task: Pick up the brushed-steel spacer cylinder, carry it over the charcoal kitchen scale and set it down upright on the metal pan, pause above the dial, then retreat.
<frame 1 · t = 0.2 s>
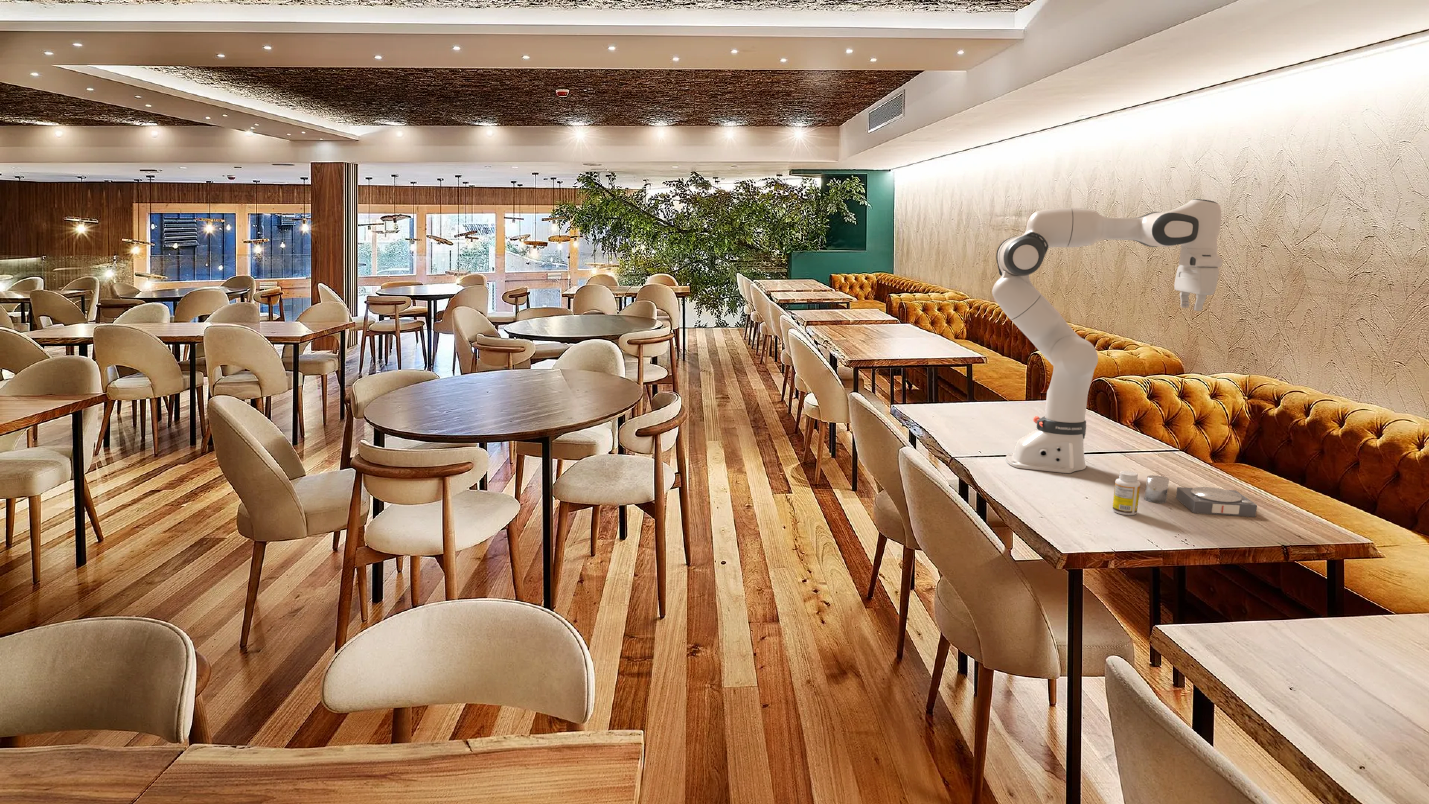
hand: (1190, 309, 228), 48 cm above the table, fingers open, 8 cm apart
scale pan: (1216, 494, 206), point 3 cm above the table, slide at -0.3 cm, touching scale base
spacer: (1155, 500, 212), on the table
scale base: (1214, 507, 207), on the table
supplement bottle: (1124, 513, 202), on the table
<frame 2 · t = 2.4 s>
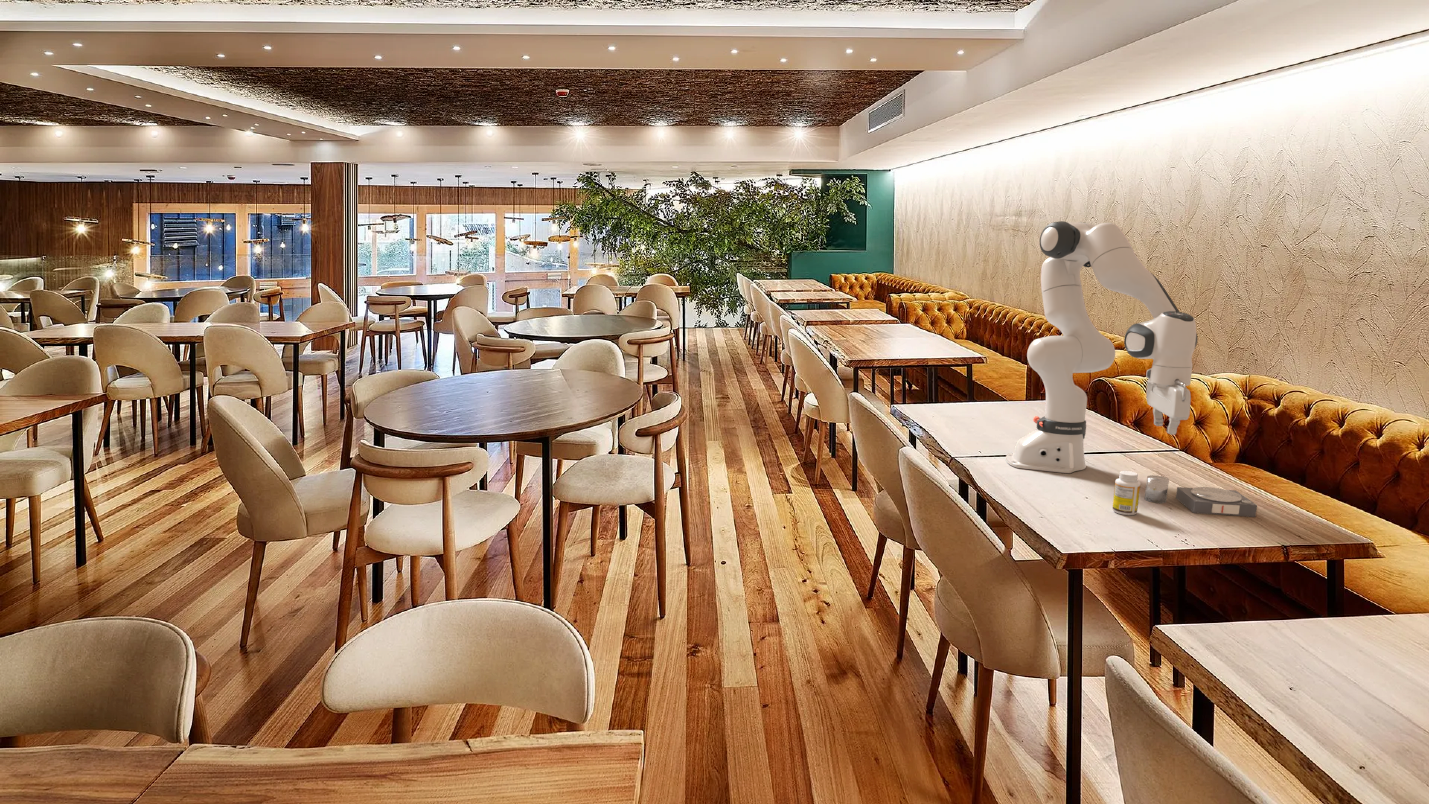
hand: (1164, 429, 208), 19 cm above the table, fingers open, 8 cm apart
nothing on the table moved.
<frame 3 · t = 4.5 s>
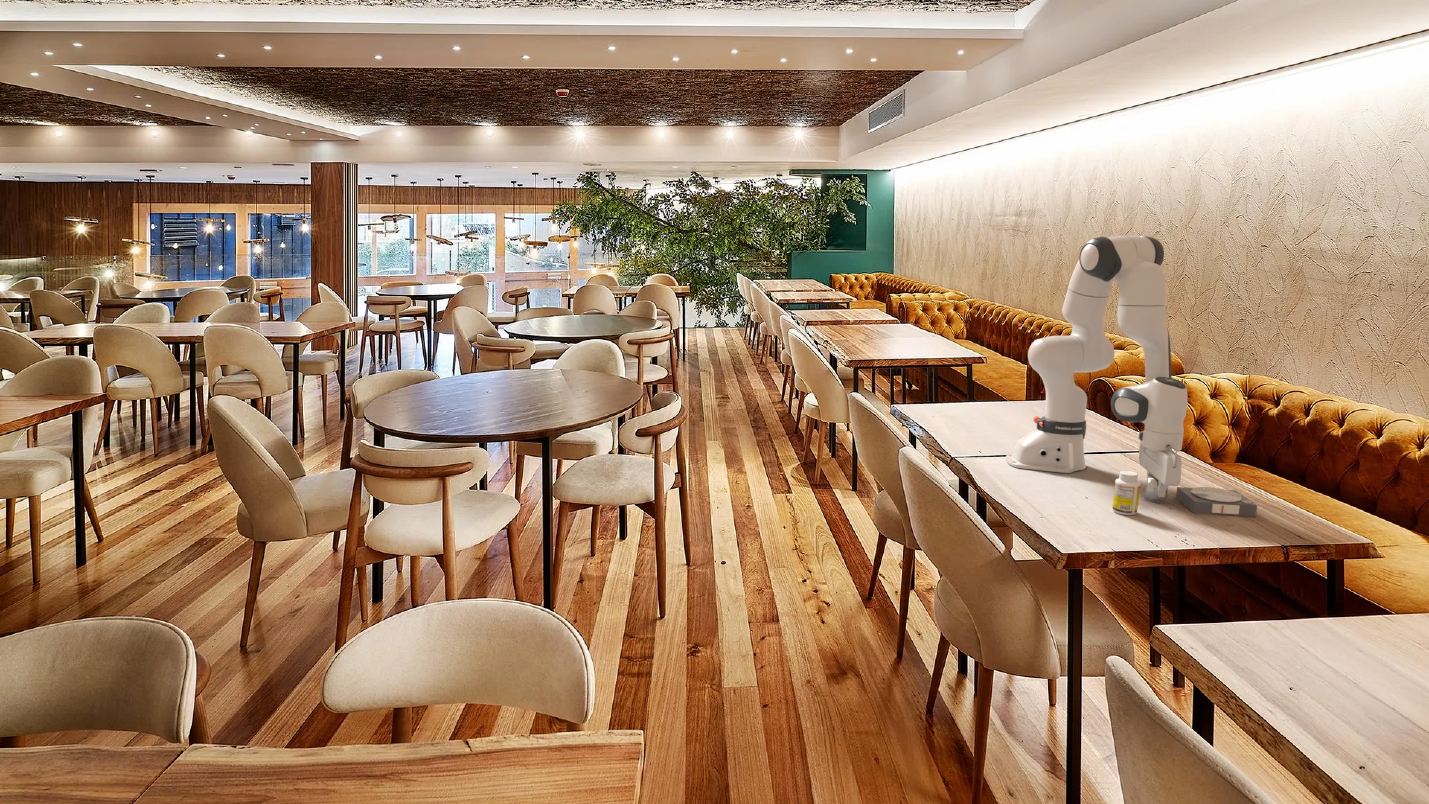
hand: (1156, 492, 211), 2 cm above the table, fingers closed on spacer, 5 cm apart
spacer: (1155, 500, 212), on the table, touching gripper
everything else where it was.
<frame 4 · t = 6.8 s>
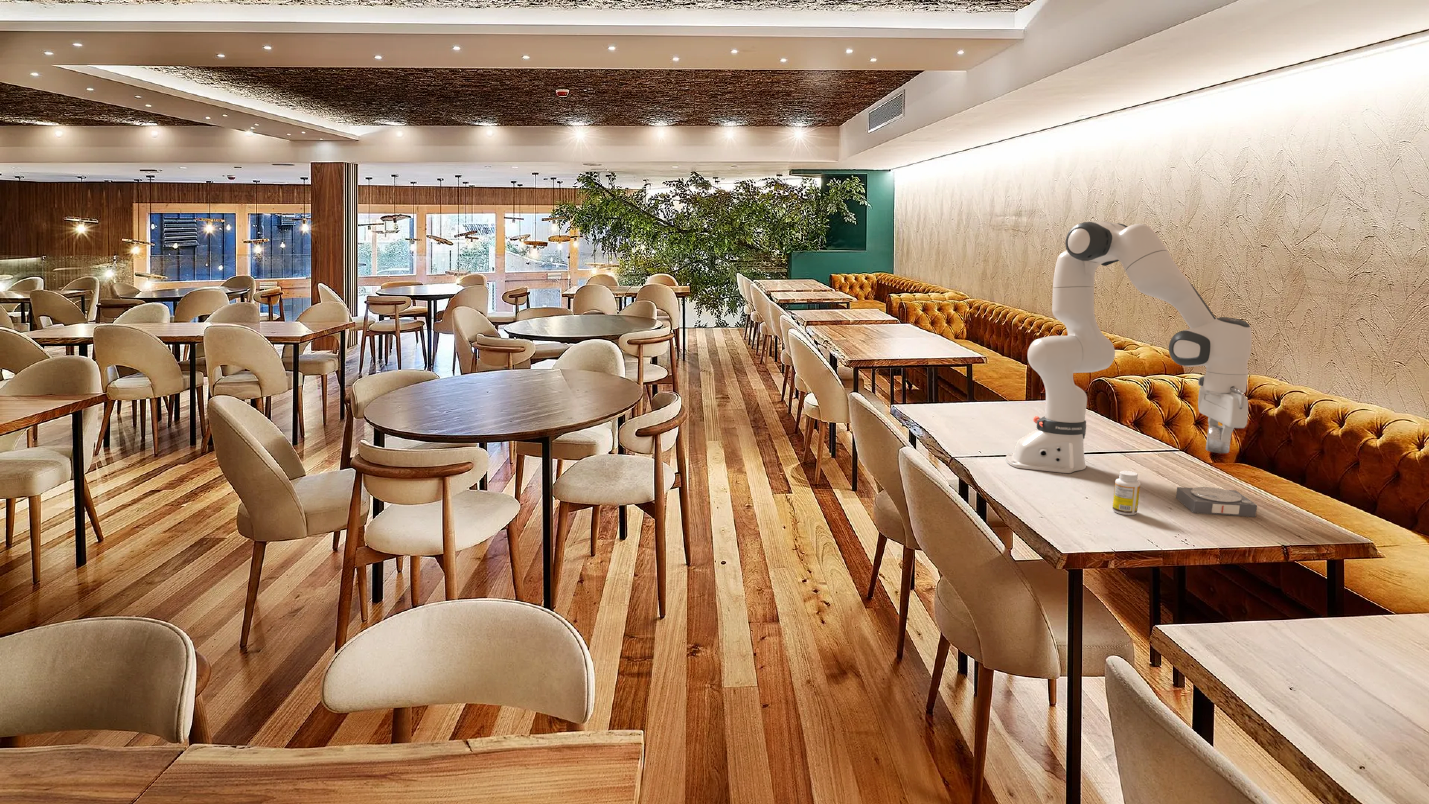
hand: (1218, 438, 203), 18 cm above the table, fingers closed on spacer, 5 cm apart
spacer: (1217, 450, 203), point 15 cm above the table, touching gripper
everything else where it was.
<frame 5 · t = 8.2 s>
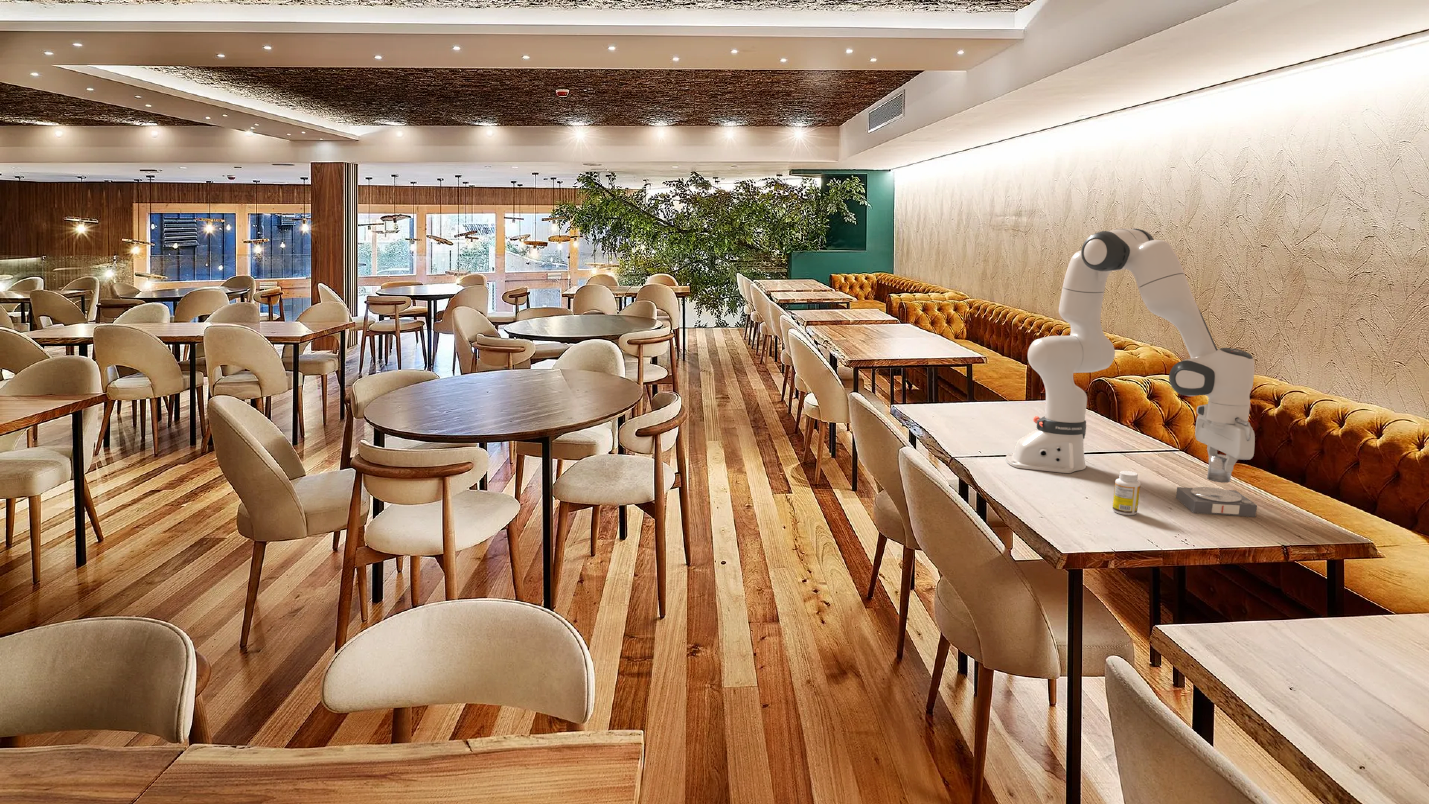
hand: (1220, 467, 204), 11 cm above the table, fingers closed on spacer, 5 cm apart
spacer: (1218, 479, 205), point 7 cm above the table, touching gripper
everything else where it was.
when the fingers open (7 cm above the table, at t = 9.3 s): spacer stays where it is, resting on scale pan.
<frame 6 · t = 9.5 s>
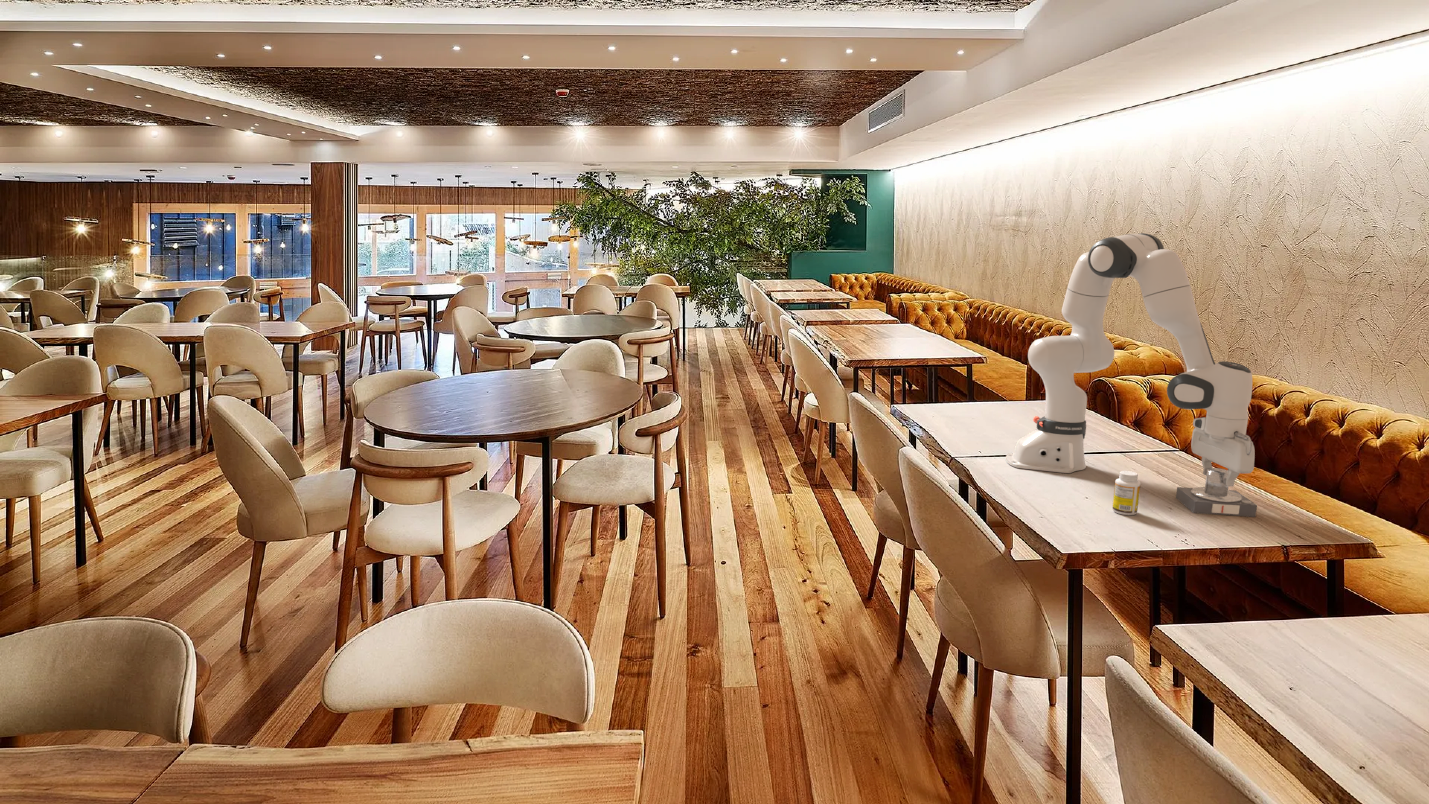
hand: (1217, 480, 205), 7 cm above the table, fingers open, 7 cm apart
scale pan: (1216, 494, 206), point 3 cm above the table, slide at -0.3 cm, touching scale base, spacer
spacer: (1215, 493, 206), point 4 cm above the table, touching scale pan
everything else where it was.
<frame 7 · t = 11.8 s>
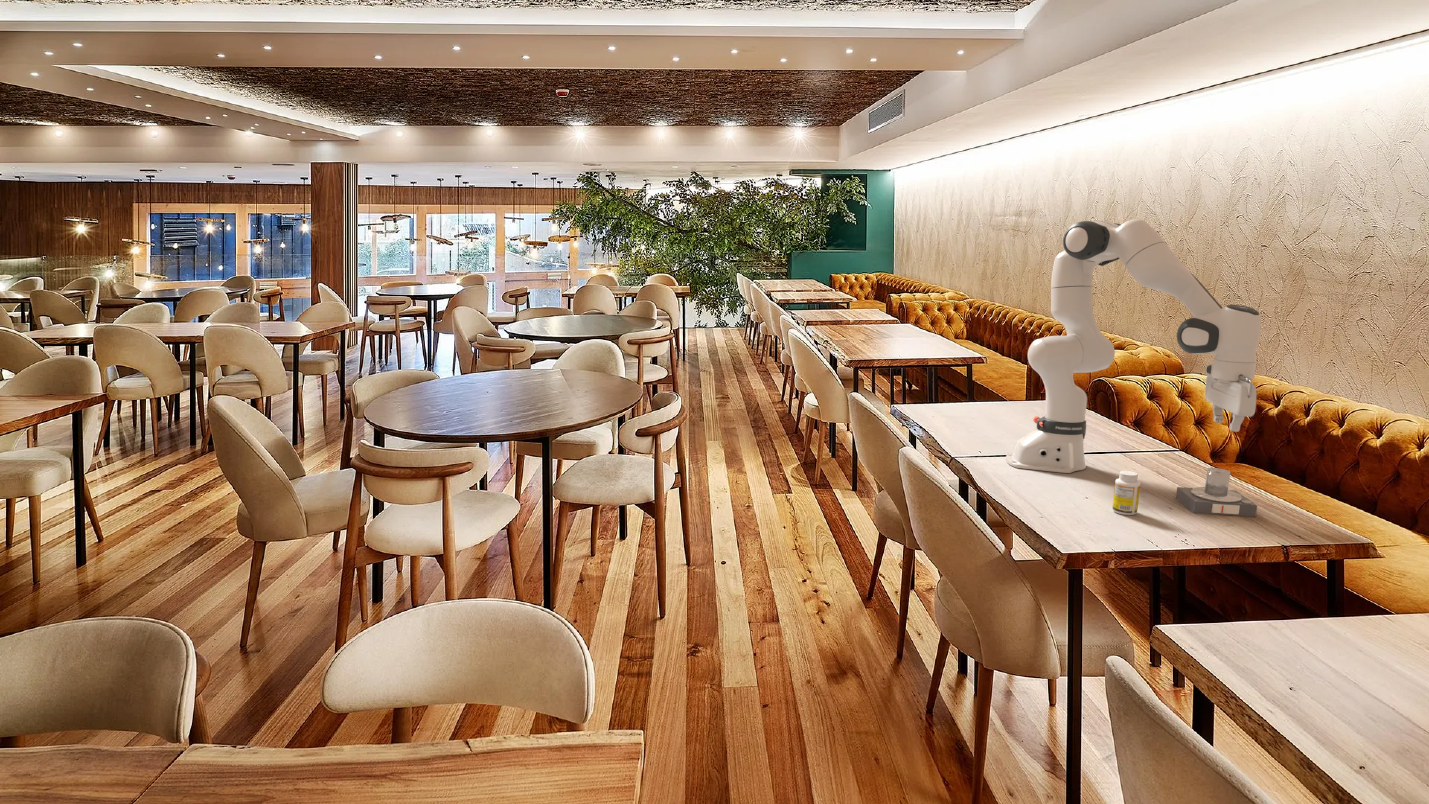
hand: (1225, 426, 202), 21 cm above the table, fingers open, 8 cm apart
nothing on the table moved.
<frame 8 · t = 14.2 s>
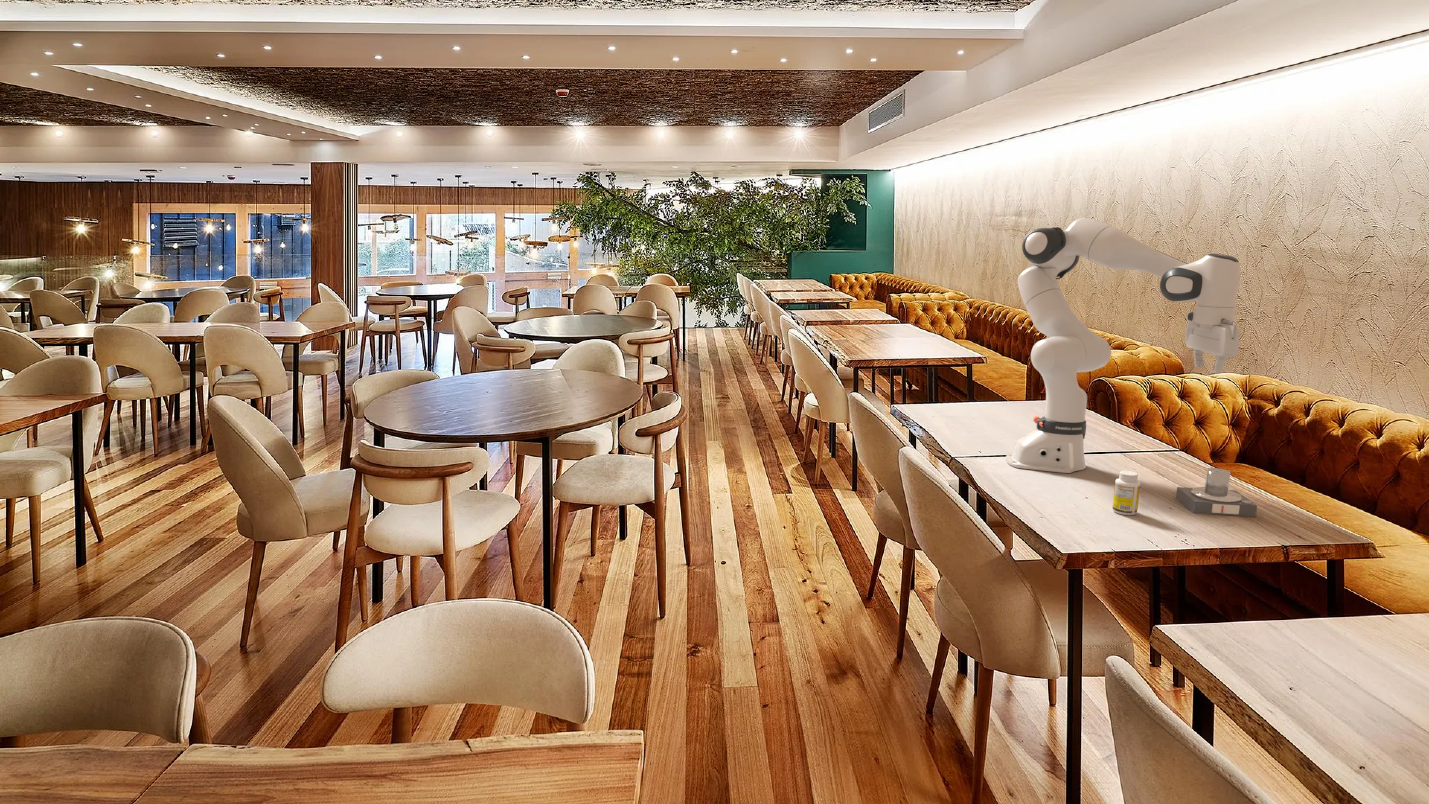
hand: (1207, 369, 214), 33 cm above the table, fingers open, 8 cm apart
nothing on the table moved.
at the end: spacer 0.1 cm from the scale pan (horizontally); spacer tilted 0°; the gripper is holding nothing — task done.
